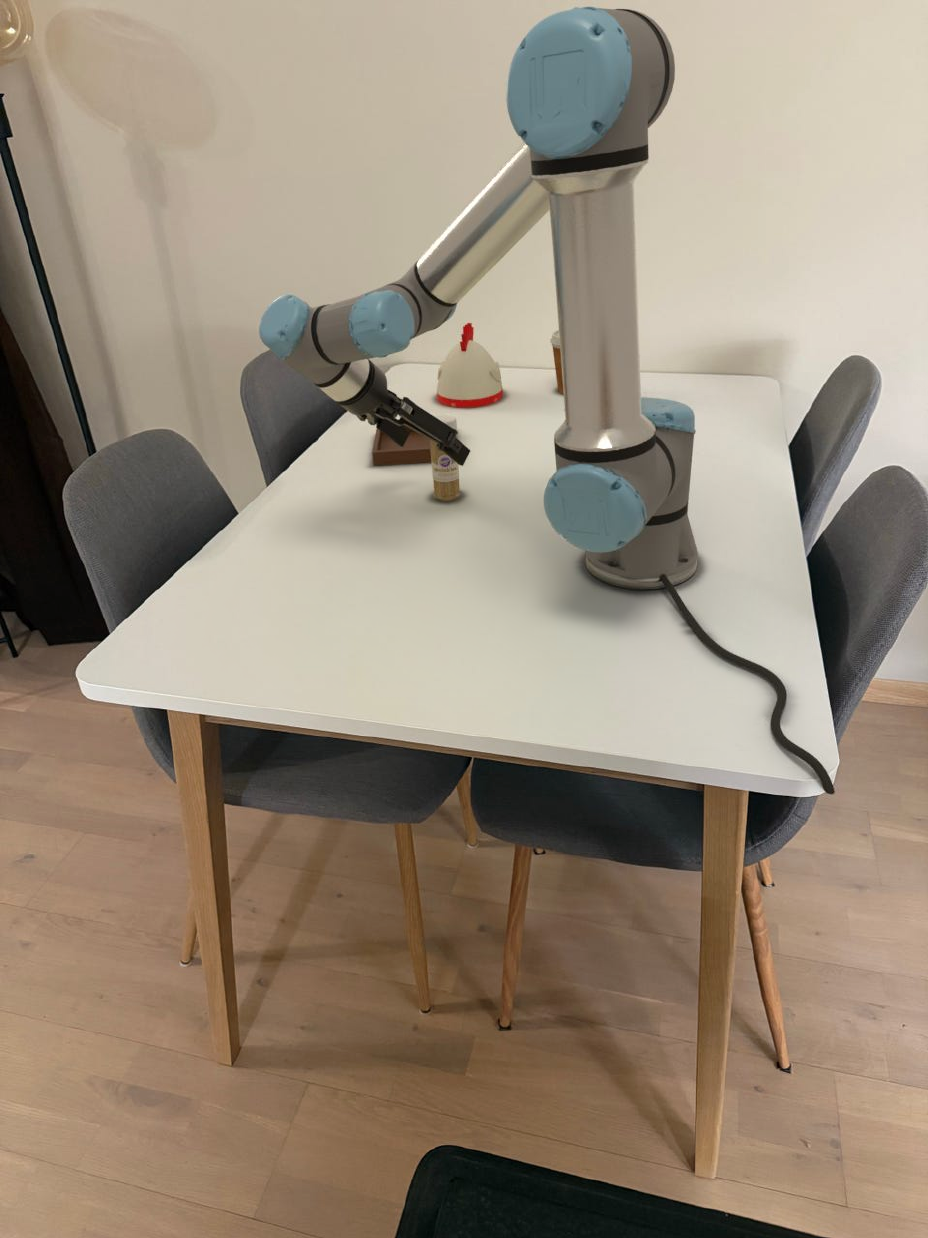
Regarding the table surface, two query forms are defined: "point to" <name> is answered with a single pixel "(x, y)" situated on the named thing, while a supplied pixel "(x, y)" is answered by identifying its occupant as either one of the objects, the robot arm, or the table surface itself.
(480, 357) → the kitchen timer
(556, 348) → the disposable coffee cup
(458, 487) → the sprinkles bottle
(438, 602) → the table surface
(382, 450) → the wooden tray
